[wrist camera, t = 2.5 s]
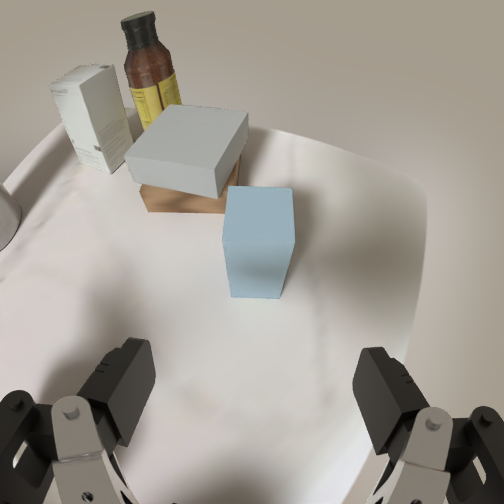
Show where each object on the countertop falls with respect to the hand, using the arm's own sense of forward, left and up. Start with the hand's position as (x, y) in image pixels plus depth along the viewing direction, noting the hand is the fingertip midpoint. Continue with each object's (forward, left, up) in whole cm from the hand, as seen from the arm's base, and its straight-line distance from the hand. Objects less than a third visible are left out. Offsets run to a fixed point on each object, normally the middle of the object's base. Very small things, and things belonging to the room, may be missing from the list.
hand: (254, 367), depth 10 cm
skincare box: (-32, +16, -14) cm, 39 cm away
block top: (-16, +17, -10) cm, 26 cm away
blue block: (-4, +9, -14) cm, 17 cm away
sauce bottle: (-26, +23, -14) cm, 38 cm away
